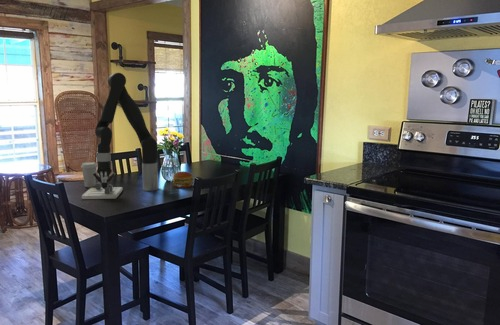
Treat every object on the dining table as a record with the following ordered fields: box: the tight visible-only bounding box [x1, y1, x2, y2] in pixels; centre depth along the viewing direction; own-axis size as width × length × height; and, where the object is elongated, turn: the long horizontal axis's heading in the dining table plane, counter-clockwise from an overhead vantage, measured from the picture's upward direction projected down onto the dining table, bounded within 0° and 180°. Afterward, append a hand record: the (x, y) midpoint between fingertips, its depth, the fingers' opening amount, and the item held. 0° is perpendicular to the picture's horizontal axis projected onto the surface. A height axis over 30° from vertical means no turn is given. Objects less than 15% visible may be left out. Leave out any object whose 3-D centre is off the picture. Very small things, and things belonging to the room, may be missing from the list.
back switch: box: [95, 181, 102, 189], centre depth 254 cm, size 2×3×4 cm
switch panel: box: [81, 186, 123, 200], centre depth 249 cm, size 19×20×2 cm
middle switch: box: [107, 183, 113, 191], centre depth 249 cm, size 2×3×4 cm
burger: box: [172, 171, 194, 189], centre depth 270 cm, size 14×14×10 cm
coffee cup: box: [80, 161, 98, 188], centre depth 269 cm, size 10×10×15 cm
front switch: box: [105, 185, 110, 194], centre depth 243 cm, size 2×3×4 cm
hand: (104, 188), depth 248 cm, fingers closed
